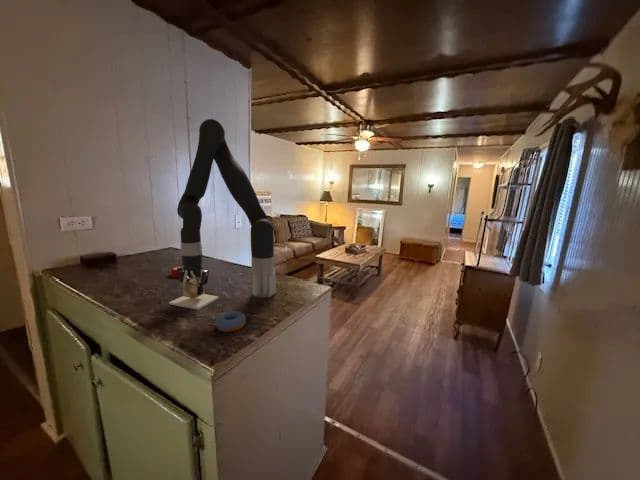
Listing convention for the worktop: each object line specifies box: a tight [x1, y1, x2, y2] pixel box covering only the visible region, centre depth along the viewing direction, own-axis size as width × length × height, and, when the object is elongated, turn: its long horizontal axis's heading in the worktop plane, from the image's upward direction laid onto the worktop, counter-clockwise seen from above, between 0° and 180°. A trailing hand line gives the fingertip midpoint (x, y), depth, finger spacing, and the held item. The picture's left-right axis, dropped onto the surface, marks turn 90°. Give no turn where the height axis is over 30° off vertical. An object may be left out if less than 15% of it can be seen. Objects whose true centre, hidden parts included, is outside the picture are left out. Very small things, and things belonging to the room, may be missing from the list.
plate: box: [168, 293, 220, 311], centre depth 112 cm, size 14×12×1 cm
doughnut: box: [214, 310, 247, 333], centre depth 93 cm, size 10×10×5 cm
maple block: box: [182, 278, 206, 298], centre depth 111 cm, size 6×6×6 cm
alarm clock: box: [167, 264, 183, 279], centre depth 144 cm, size 10×6×15 cm
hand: (194, 293), depth 112 cm, fingers closed on maple block, 5 cm apart
